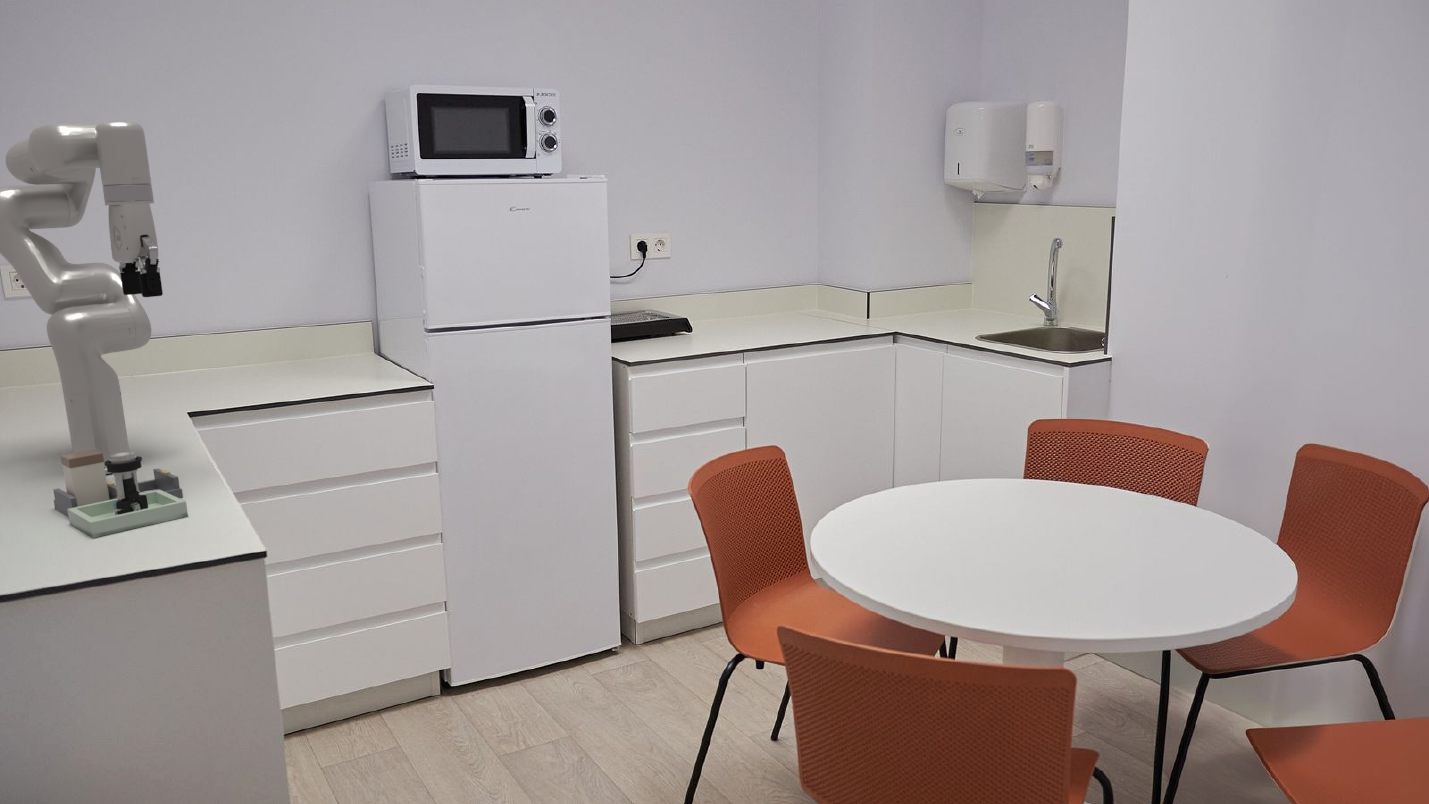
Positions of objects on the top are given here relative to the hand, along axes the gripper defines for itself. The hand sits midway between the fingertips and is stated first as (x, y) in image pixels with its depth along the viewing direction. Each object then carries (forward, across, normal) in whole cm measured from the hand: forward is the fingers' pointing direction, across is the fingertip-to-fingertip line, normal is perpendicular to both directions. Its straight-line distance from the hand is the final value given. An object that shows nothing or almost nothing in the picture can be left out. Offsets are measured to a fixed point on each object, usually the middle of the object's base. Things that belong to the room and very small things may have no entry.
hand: (143, 295), depth 192 cm
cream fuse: (+34, +6, -15) cm, 38 cm away
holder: (+34, +6, -10) cm, 36 cm away
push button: (+34, +18, -13) cm, 40 cm away
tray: (+34, +19, -13) cm, 41 cm away
